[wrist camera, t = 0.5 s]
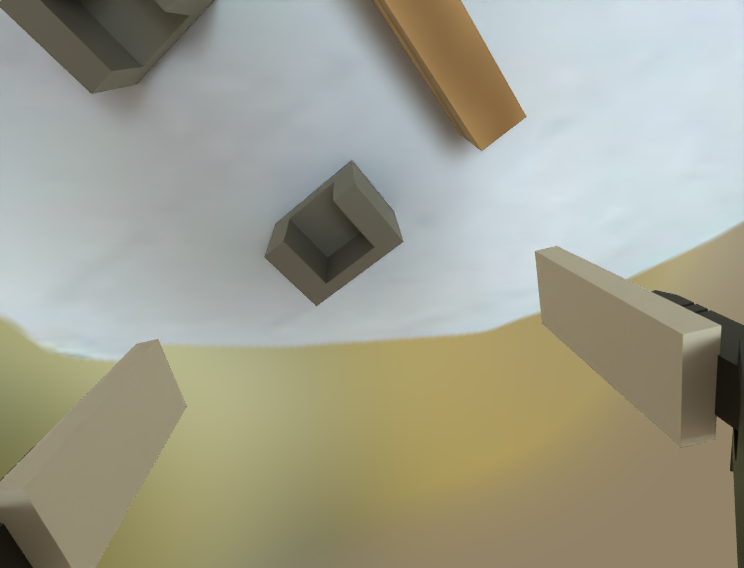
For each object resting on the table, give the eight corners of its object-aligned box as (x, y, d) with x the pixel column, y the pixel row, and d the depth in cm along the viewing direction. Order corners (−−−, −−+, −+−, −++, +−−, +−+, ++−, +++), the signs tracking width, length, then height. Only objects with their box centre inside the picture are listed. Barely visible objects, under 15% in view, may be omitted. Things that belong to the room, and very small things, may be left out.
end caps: (147, -90, 26) (95, -125, 21) (393, 210, 37) (403, 241, 31) (64, 11, 29) (-3, 5, 23) (319, 267, 39) (316, 306, 34)
